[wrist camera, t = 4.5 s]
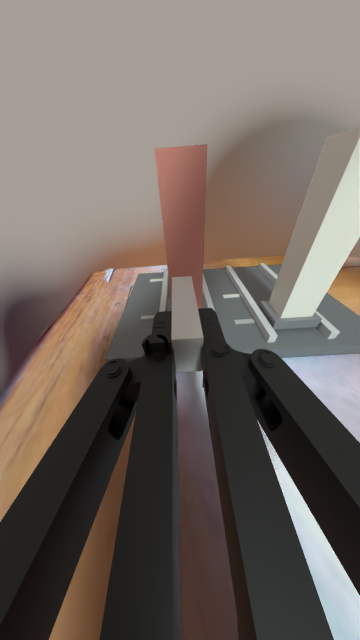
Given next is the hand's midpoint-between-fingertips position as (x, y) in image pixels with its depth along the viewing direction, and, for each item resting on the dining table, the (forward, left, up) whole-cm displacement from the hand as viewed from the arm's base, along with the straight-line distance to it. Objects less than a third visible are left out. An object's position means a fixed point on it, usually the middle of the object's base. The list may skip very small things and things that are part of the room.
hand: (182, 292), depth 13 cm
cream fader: (-12, -4, -6) cm, 15 cm away
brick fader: (0, -6, -6) cm, 9 cm away
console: (-6, -10, -8) cm, 14 cm away
